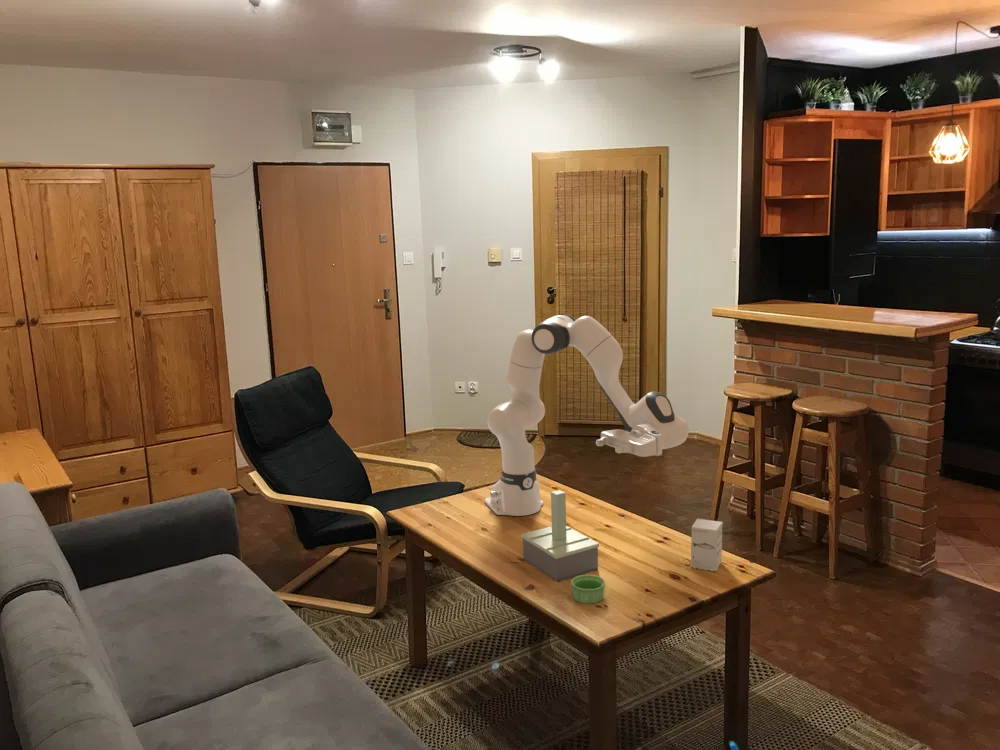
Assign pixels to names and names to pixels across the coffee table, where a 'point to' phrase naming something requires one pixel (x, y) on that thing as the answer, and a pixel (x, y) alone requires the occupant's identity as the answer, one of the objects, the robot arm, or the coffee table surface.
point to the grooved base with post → (559, 532)
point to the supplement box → (706, 544)
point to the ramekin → (588, 588)
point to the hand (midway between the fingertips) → (606, 446)
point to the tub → (561, 562)
